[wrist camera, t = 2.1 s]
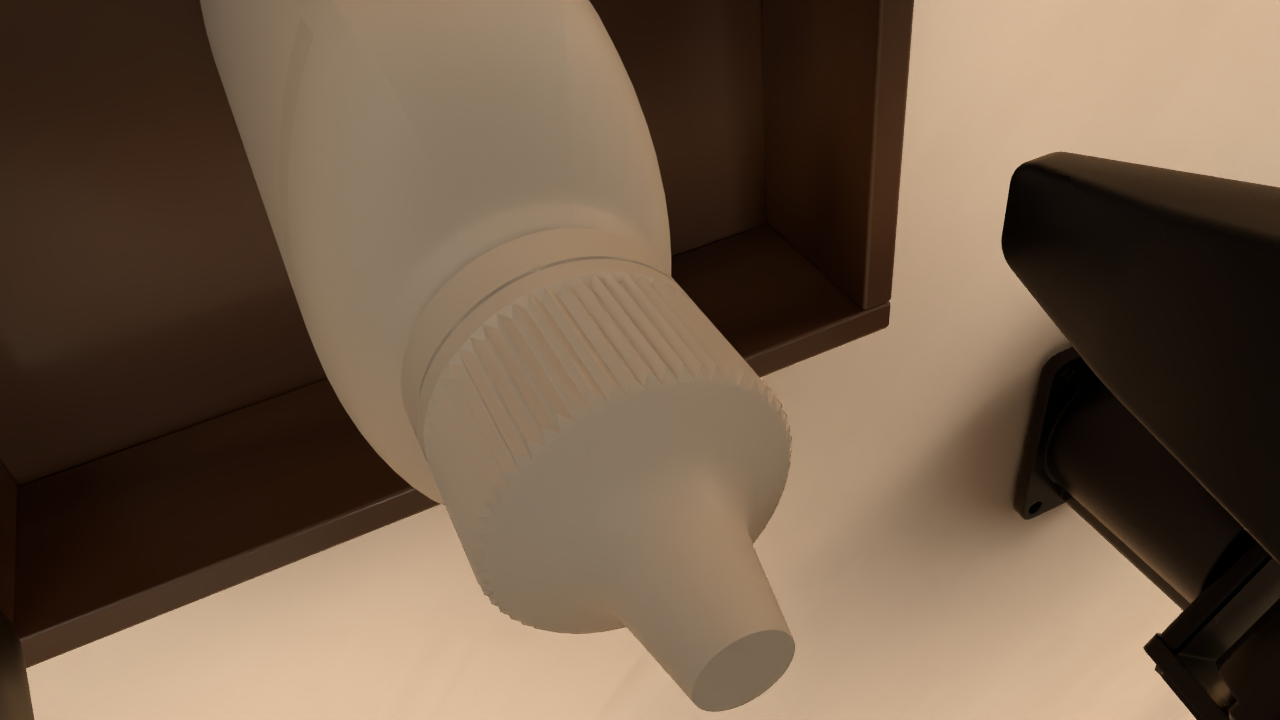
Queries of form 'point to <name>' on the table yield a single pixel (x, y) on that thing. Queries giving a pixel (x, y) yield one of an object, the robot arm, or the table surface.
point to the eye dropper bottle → (518, 313)
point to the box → (268, 309)
